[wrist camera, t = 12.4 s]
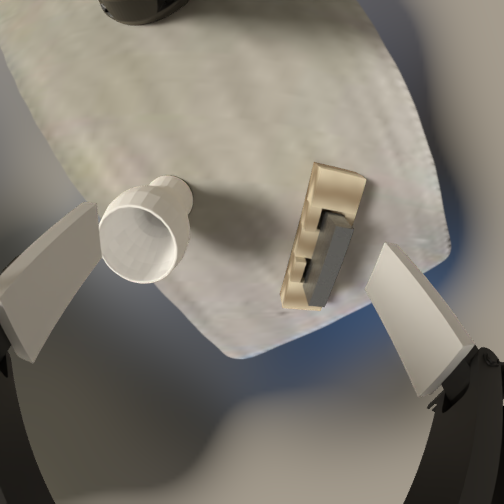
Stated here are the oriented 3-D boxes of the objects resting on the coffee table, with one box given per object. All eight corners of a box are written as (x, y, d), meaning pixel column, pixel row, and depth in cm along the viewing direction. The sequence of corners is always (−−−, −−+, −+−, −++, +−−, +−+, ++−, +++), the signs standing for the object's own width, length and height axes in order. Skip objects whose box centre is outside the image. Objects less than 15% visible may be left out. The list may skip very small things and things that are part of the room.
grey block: (320, 203, 40) (336, 226, 33) (335, 207, 40) (353, 229, 33) (299, 275, 46) (308, 305, 39) (313, 276, 46) (324, 307, 39)
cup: (215, 187, 39) (201, 231, 26) (183, 241, 43) (161, 301, 30) (153, 153, 36) (108, 180, 23) (127, 211, 40) (84, 260, 27)
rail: (313, 162, 37) (321, 167, 34) (356, 172, 38) (366, 179, 35) (279, 293, 49) (282, 307, 46) (315, 296, 50) (320, 310, 46)
